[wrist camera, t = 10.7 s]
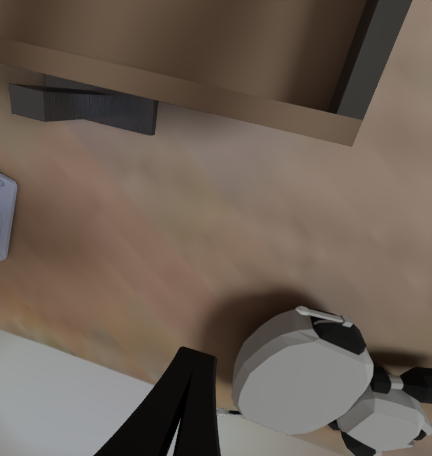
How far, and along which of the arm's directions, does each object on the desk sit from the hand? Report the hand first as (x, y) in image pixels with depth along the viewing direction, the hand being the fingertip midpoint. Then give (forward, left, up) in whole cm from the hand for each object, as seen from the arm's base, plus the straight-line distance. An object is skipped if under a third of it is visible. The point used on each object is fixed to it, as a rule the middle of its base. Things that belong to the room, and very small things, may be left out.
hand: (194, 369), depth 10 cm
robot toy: (+12, -5, -11) cm, 17 cm away
